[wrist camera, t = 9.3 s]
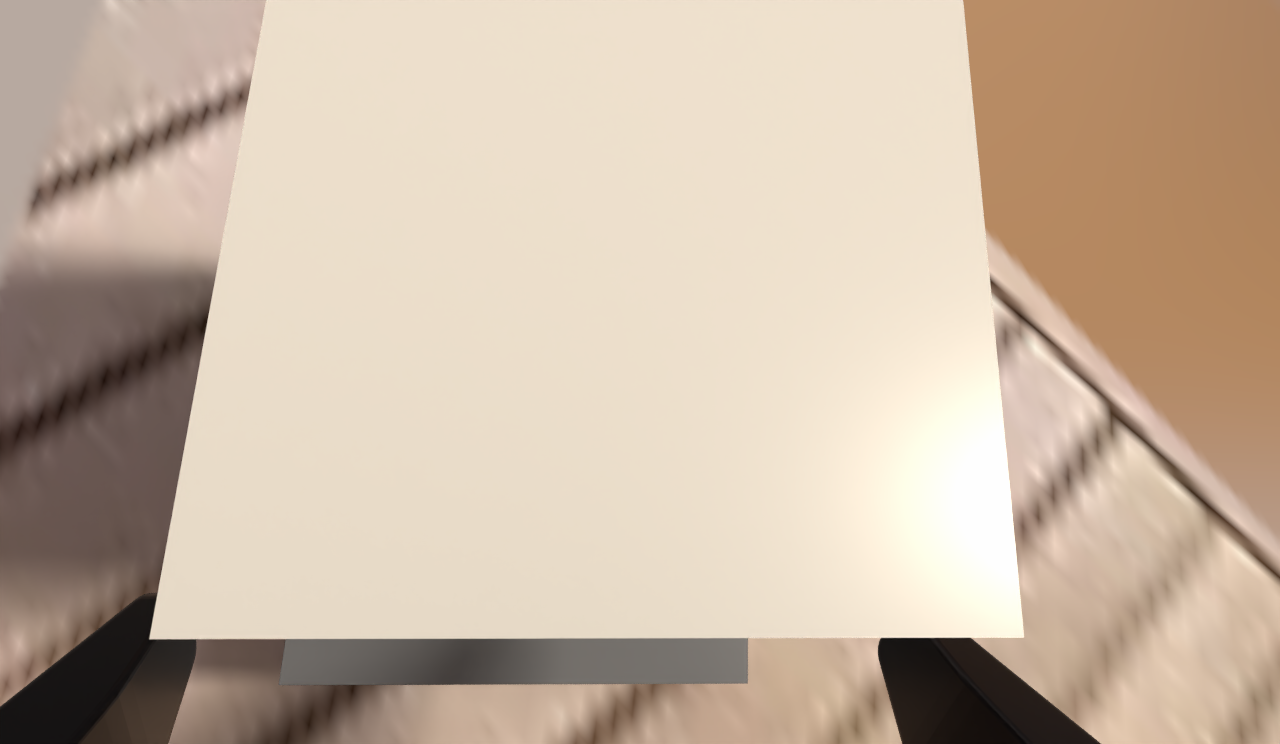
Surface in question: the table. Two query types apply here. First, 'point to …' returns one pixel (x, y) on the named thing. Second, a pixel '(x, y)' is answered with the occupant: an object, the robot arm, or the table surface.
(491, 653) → the socket
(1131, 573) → the table surface
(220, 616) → the plug
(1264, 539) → the table surface
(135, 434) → the table surface
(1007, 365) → the table surface
